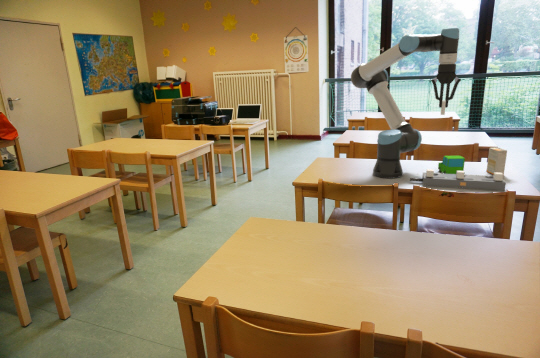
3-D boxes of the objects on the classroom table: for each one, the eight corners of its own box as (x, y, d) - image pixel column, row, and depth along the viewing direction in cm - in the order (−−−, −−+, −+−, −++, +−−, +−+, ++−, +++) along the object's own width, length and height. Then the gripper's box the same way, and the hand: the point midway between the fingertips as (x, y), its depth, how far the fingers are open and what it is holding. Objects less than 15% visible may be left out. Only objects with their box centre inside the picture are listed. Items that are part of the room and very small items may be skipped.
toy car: (454, 170, 199) (456, 152, 196) (464, 177, 186) (467, 158, 183) (435, 170, 200) (436, 152, 197) (444, 177, 187) (445, 158, 184)
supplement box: (504, 175, 186) (508, 150, 183) (494, 175, 187) (498, 150, 183) (495, 171, 194) (498, 147, 191) (485, 171, 194) (489, 147, 191)
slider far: (494, 180, 165) (495, 174, 164) (493, 178, 168) (494, 172, 167) (502, 180, 164) (503, 174, 163) (500, 178, 167) (501, 172, 166)
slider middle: (456, 178, 170) (457, 172, 169) (455, 176, 173) (456, 170, 172) (463, 178, 169) (464, 172, 168) (463, 176, 172) (463, 170, 171)
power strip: (409, 185, 177) (410, 177, 176) (409, 179, 186) (410, 171, 185) (505, 191, 164) (507, 182, 163) (500, 184, 173) (501, 176, 172)
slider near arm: (426, 176, 175) (427, 170, 174) (426, 175, 177) (426, 169, 176) (433, 177, 174) (433, 171, 173) (432, 175, 176) (433, 169, 175)
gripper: (432, 64, 169) (428, 115, 176) (464, 62, 165) (458, 115, 172) (431, 64, 176) (427, 113, 183) (461, 62, 172) (456, 113, 178)
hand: (442, 114), depth 177 cm, fingers closed
